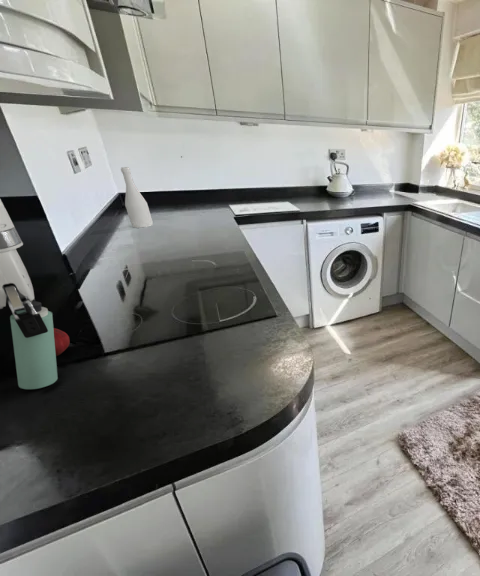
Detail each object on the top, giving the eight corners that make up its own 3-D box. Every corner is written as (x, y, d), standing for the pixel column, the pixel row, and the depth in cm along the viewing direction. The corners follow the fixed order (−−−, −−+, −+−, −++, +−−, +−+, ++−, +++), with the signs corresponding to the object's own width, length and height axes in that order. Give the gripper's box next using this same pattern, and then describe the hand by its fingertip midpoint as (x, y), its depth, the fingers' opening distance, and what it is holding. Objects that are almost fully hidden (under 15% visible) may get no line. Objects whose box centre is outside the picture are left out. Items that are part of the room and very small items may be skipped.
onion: (79, 345, 80) (66, 317, 76) (67, 360, 75) (52, 331, 71) (50, 349, 78) (35, 321, 74) (35, 364, 73) (18, 335, 69)
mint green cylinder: (58, 384, 68) (18, 392, 63) (56, 371, 71) (18, 378, 67) (52, 307, 63) (8, 310, 59) (50, 297, 66) (8, 300, 62)
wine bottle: (149, 227, 172) (131, 168, 159) (129, 228, 170) (109, 168, 157) (156, 223, 181) (139, 166, 167) (137, 224, 179) (118, 166, 165)
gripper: (-40, 235, 59) (9, 319, 67) (-51, 259, 49) (9, 355, 57) (18, 227, 64) (57, 306, 72) (20, 247, 54) (66, 338, 62)
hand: (35, 327), depth 64 cm, fingers closed on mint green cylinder, 5 cm apart
